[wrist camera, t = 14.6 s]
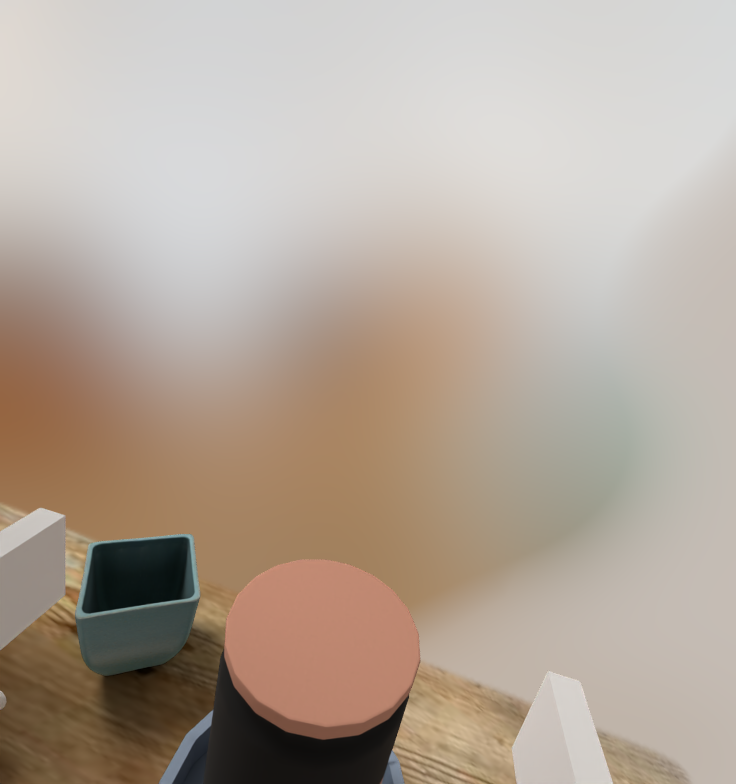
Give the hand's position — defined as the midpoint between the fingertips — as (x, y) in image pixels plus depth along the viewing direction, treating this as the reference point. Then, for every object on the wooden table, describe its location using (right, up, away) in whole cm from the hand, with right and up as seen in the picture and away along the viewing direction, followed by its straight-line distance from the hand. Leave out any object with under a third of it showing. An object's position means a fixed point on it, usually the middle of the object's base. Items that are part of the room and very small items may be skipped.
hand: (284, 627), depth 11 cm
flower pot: (-19, -18, +29) cm, 39 cm away
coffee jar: (-4, -23, +18) cm, 30 cm away
